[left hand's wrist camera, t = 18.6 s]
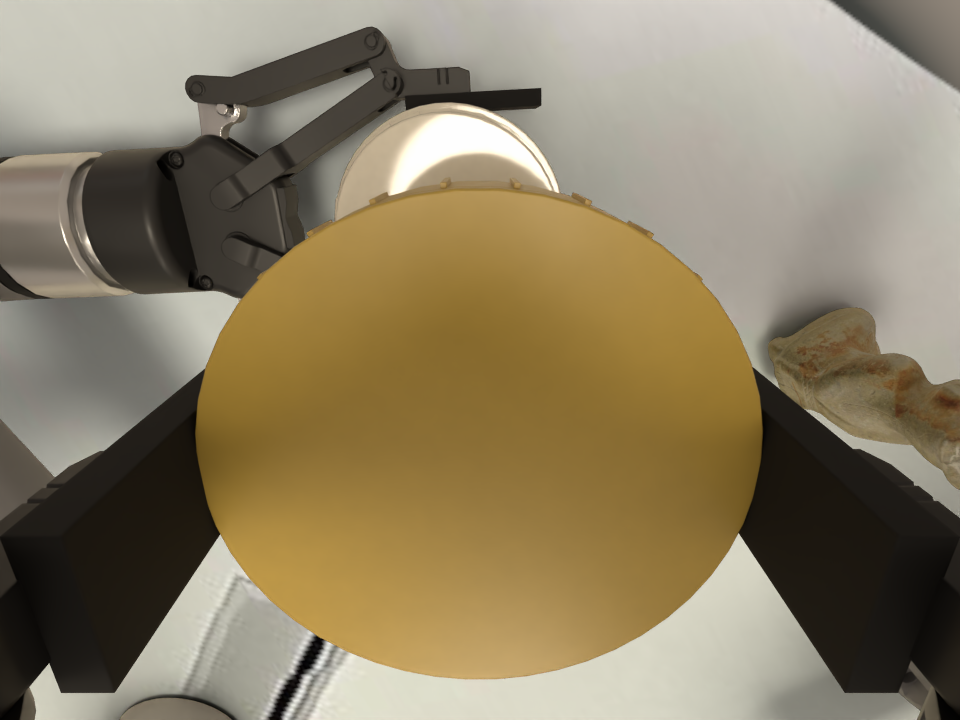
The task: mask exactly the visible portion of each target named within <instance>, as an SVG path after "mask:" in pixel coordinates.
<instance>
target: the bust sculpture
mask: <svg viewBox="0 0 960 720" xmlns="http://www.w3.org/2000/svg"><path fill="white" fill-rule="evenodd" d="M119 720H232V719H230V718H229V717H228V716H227V715H225V714H224V713H222V712H220V711H219V710H217V709H215V708H213V707H211V706H208V705H206V704H203V703H200V702H196V701H192V700H187V699H180V698H159V699H152V700H148V701H144V702H141V703H139V704H137V705H135V706H133V707H131V708H130V709H128V710H127V711H126V712H125V713H124V714H123V715H122V716H121V718H120V719H119Z"/></svg>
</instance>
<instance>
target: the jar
mask: <svg viewBox="0 0 960 720" xmlns="http://www.w3.org/2000/svg"><path fill="white" fill-rule="evenodd" d="M449 177H450V178H451V182H456V181H501V182H508V183H510V178H516V179H517V180H518V181H519V182H520V183H521V184H523V185H531V186H536V187H539V188H543V189H547V190H550V191H554V192H557V193H561V192H560V188H559V185H558V182H557V179H556V177H555V174H554V172H553V170H552V168H551V166H550V164H549V162H548V160H547V159H546V157H545V155H544V154H543V153H542V151H541V150H540V149H539V147H538V146H537V145H536V143H535V142H534V141H533V140H532V139H531V138H530V137H529V136H528V135H527V134H526V133H525V132H524V131H522V130H521V129H520V128H519V127H517V126H516V125H515V124H514V123H512V122H511V121H509V120H507V119H505V118H504V117H502V116H500V115H499V114H496V113H494V112H491V111H489V110H486V109H484V108H481V107H477V106H473V105H469V104H461V103H433V104H428V105H423V106H418V107H415V108H412V109H409V110H407V111H404V112H402V113H400V114H398V115H396V116H394V117H392V118H390V119H389V120H387V121H386V122H384V123H383V124H382V125H380V126H379V127H377V128H376V129H375V130H374V131H373V132H372V133H371V134H370V135H369V136H368V137H367V138H366V139H365V140H364V141H363V143H362V144H361V145H360V146H359V148H358V149H357V150H356V151H355V153H354V155H353V157H352V158H351V160H350V162H349V163H348V165H347V168H346V170H345V172H344V175H343V177H342V180H341V184H340V188H339V191H338V195H337V198H336V201H335V221H337V220H339V219H341V218H342V217H344V216H346V215H348V214H350V213H352V212H354V211H356V210H358V209H360V208H363V207H365V206H367V205H369V204H370V203H369V200H370V199H372V198H374V197H376V196H378V195H380V194H382V193H385V192H388V195H389V196H391V195H394V194H398V193H401V192H405V191H408V190H411V189H415V188H418V187H422V186H429V185H436V184H440V182H441V181H442V180H443V179H444V178H449ZM335 221H334V222H335Z"/></svg>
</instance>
